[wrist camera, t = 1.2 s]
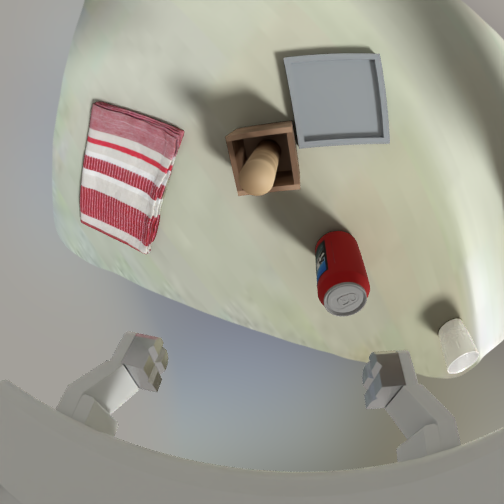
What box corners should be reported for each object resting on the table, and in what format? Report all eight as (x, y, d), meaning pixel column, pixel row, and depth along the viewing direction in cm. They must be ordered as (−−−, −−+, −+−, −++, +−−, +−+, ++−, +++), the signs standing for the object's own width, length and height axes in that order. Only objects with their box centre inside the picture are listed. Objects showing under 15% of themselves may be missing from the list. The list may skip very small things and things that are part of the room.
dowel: (278, 137, 33) (270, 160, 23) (282, 160, 34) (276, 193, 24) (254, 141, 33) (235, 165, 24) (258, 163, 35) (242, 197, 25)
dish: (376, 55, 24) (379, 53, 23) (386, 141, 31) (389, 143, 30) (283, 59, 27) (283, 57, 26) (299, 146, 33) (299, 148, 32)
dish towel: (189, 128, 35) (181, 131, 32) (153, 251, 48) (147, 260, 46) (99, 99, 33) (88, 101, 31) (82, 217, 46) (74, 223, 44)
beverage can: (307, 239, 41) (308, 292, 31) (347, 221, 38) (362, 271, 28) (325, 270, 44) (330, 326, 34) (363, 255, 41) (378, 308, 31)
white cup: (462, 332, 48) (475, 365, 39) (435, 343, 50) (445, 377, 42) (466, 311, 44) (481, 346, 36) (436, 323, 47) (449, 360, 39)
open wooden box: (291, 120, 32) (291, 126, 26) (299, 172, 35) (300, 189, 30) (237, 128, 33) (225, 136, 28) (247, 178, 37) (238, 195, 32)
